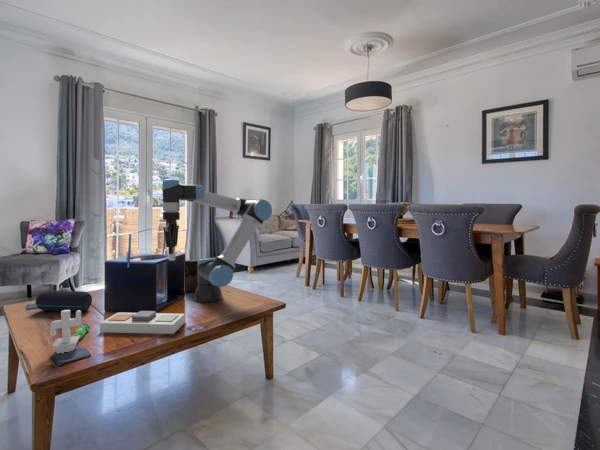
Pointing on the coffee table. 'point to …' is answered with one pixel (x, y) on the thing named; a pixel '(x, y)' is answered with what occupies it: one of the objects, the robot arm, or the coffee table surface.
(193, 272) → the owl
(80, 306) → the portable speaker
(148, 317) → the charcoal key
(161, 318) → the sage key
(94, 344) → the coffee table surface
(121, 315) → the terracotta key
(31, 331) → the coffee table surface
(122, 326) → the keypad
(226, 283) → the robot arm
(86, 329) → the candy
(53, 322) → the figurine
